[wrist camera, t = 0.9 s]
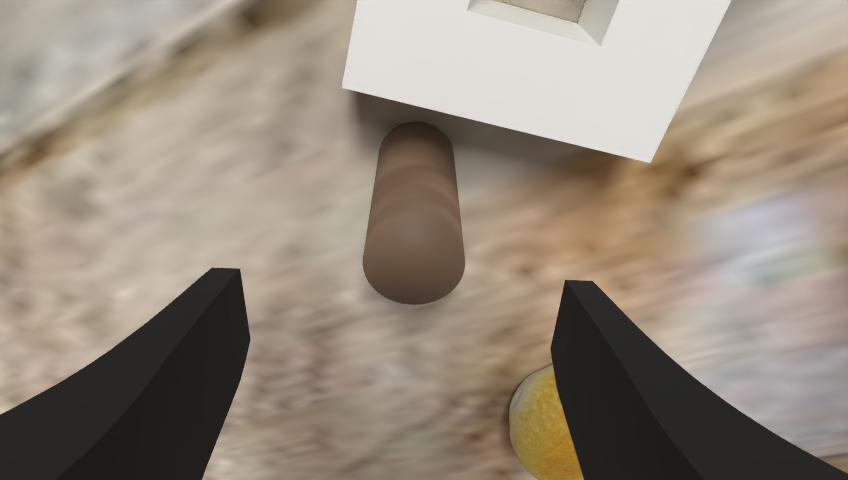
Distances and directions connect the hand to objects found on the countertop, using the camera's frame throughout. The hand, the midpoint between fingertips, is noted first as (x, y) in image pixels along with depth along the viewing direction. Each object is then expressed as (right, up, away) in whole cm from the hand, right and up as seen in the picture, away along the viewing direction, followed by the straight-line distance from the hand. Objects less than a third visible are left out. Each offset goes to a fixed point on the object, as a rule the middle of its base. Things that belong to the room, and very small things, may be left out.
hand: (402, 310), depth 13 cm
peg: (0, +5, +9) cm, 10 cm away
